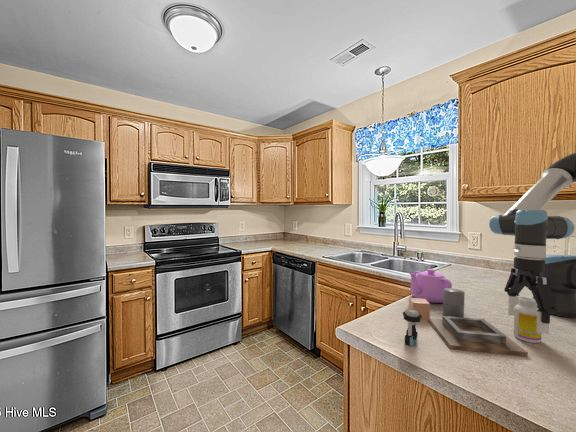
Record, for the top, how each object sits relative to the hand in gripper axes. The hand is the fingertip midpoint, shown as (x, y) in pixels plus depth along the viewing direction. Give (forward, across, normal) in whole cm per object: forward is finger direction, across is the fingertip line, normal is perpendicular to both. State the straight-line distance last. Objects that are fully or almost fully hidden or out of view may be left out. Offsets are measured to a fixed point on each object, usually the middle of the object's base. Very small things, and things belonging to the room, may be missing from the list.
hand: (526, 323), depth 85 cm
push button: (+6, +10, -37) cm, 38 cm away
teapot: (+5, -34, -20) cm, 40 cm away
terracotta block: (+5, -13, -29) cm, 32 cm away
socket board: (+5, +2, -17) cm, 18 cm away
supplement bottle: (+5, 0, 0) cm, 5 cm away
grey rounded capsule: (+5, -15, -16) cm, 22 cm away
